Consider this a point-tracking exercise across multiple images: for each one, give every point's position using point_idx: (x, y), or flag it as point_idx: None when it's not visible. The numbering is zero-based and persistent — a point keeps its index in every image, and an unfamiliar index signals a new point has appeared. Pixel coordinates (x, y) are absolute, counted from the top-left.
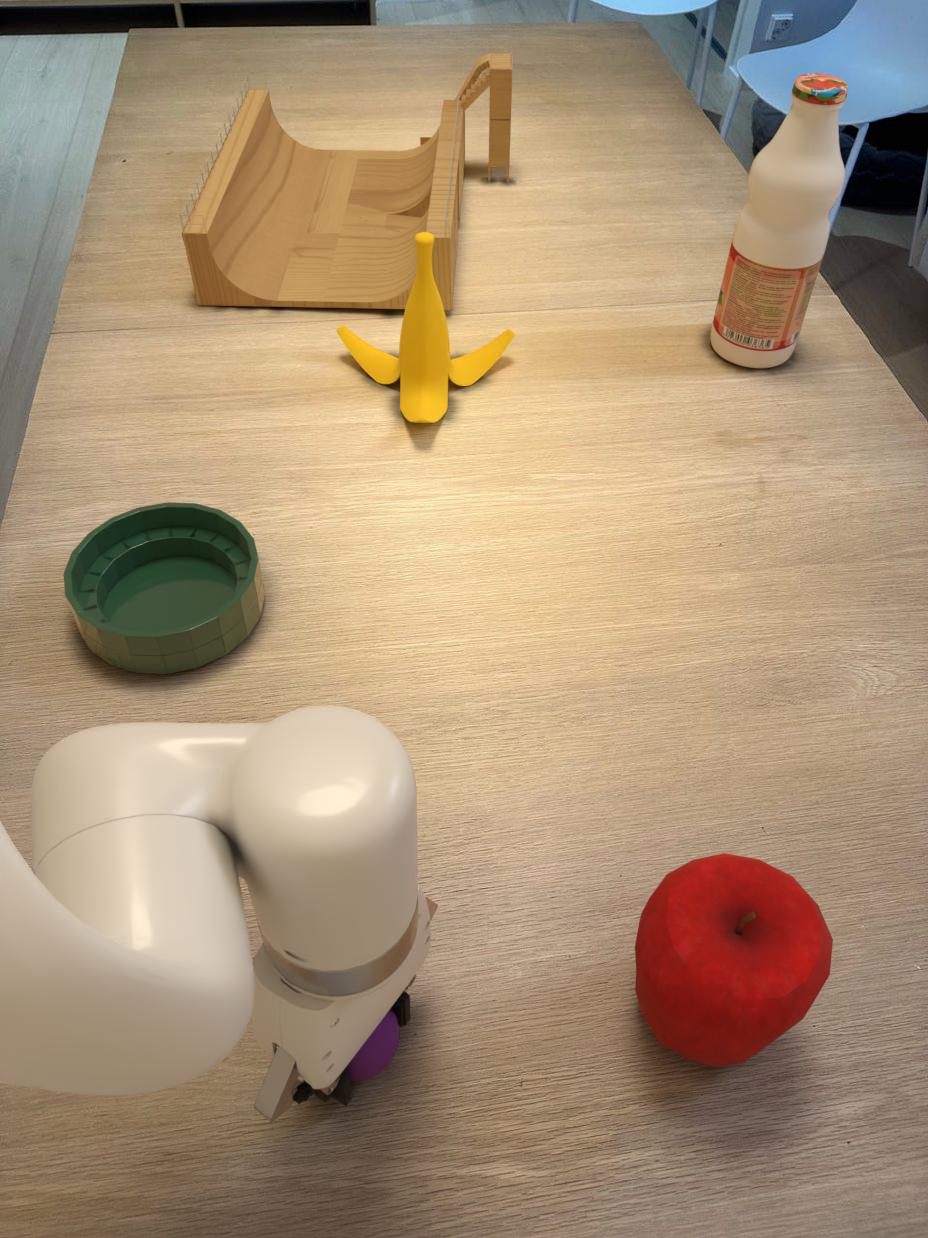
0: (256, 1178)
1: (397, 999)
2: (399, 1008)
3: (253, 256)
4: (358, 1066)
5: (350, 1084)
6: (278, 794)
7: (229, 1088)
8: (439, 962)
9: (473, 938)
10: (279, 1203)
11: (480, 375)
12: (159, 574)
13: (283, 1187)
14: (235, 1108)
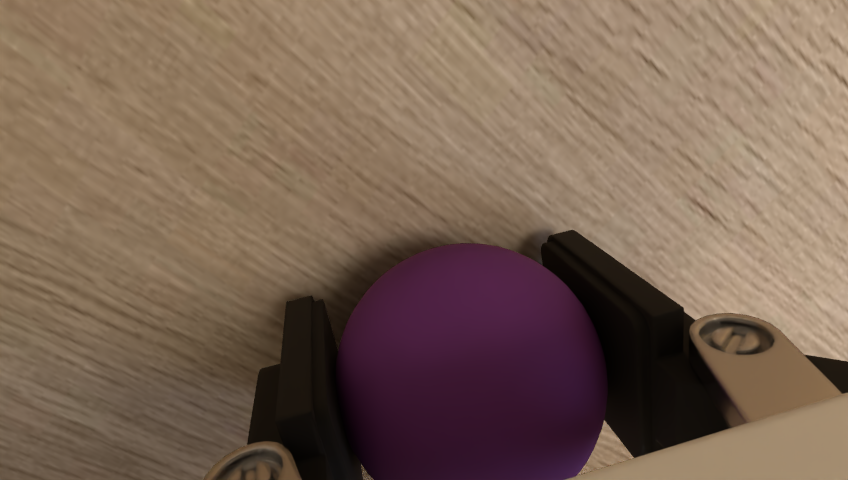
0: (35, 406)
1: (646, 447)
2: (617, 431)
3: None
4: None
5: (361, 470)
6: None
7: (74, 171)
8: (719, 265)
9: (807, 271)
10: (64, 475)
11: None
12: None
13: (91, 454)
14: (64, 231)
